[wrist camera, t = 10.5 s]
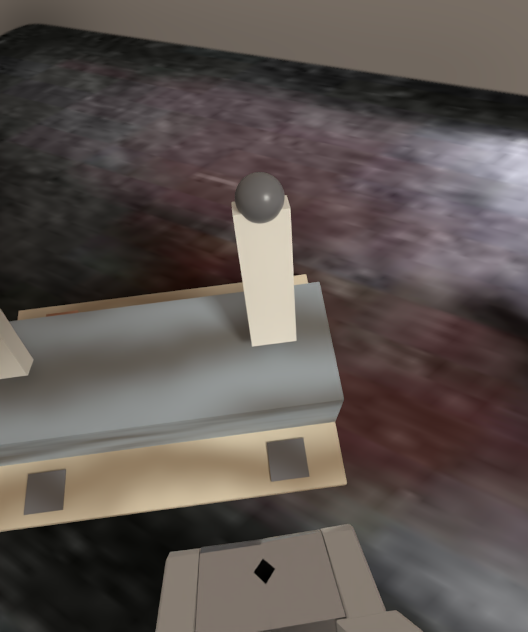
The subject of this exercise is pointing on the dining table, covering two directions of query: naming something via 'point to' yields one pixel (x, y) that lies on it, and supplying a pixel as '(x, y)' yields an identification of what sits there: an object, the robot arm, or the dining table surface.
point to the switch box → (165, 407)
